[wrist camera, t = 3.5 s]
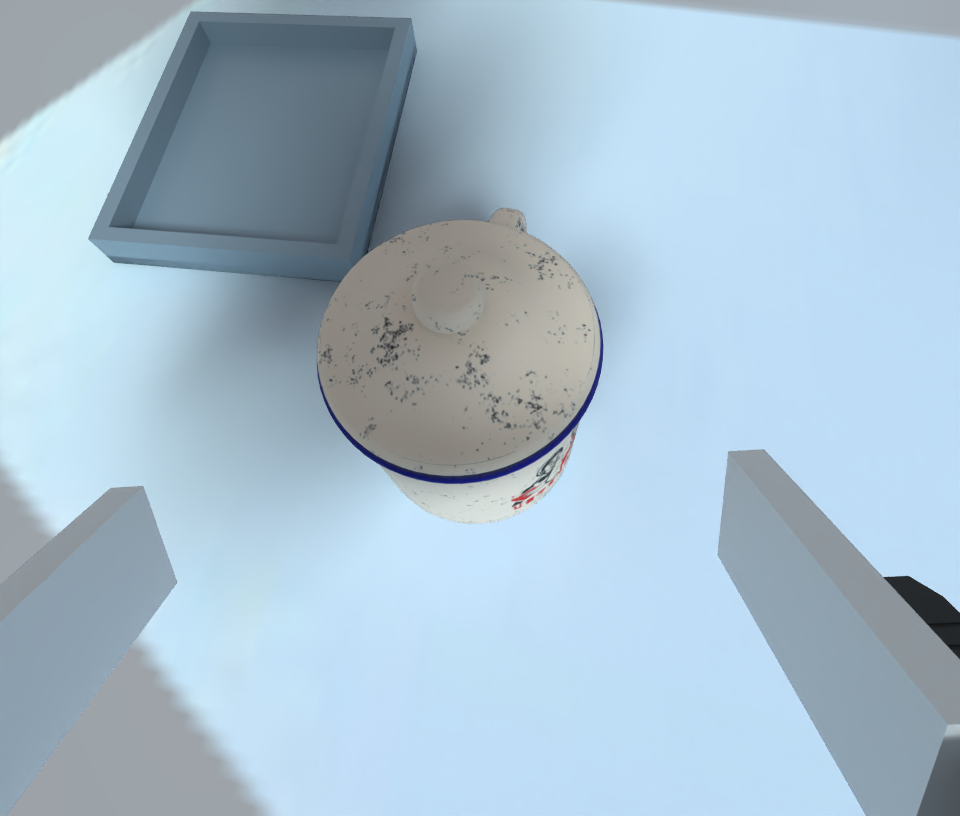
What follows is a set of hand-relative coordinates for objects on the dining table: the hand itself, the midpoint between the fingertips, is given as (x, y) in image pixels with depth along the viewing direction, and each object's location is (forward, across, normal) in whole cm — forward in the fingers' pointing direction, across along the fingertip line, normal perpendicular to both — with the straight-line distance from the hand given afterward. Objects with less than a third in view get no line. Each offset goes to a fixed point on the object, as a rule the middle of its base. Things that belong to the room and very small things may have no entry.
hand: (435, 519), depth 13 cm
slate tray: (+25, -10, +9) cm, 29 cm away
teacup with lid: (+14, +1, -3) cm, 14 cm away
